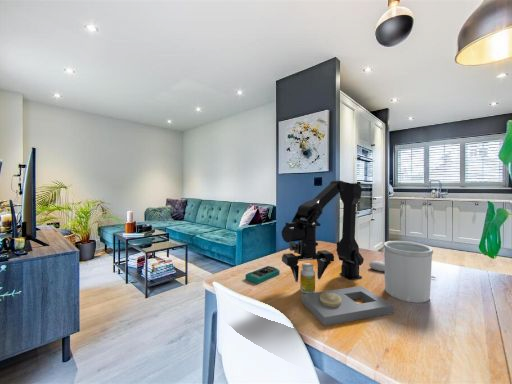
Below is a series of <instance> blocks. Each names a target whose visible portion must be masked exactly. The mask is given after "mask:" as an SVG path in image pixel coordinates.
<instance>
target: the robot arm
mask: <svg viewBox="0 0 512 384" xmlns="http://www.w3.org/2000/svg"><path fill="white" fill-rule="evenodd" d="M362 191H363V189H362V186H361V185H360V183H357V182H347V181H343V180H332V181H330V182H329V184H328V185H327V186H326V187H325V188H324V189H322V191H321V192H319V193H318V194H317V195H316V196H314V197H313V199H311V200H310V199H309V200H307V201H305V202H303V203H301V204H300V205H299V206H298V207H297V210H296V212H295V214H294V216H293V218H292V220H291V222H285V226H283V228H282V230H281V237H282V240H283V241H284V242H285V243H287V244H288V245H289V251H291V252H294V253H291V252H290V253H283V254H282V256H281V262H282V263H284V264H285V265H286V266H287V267H289V268H290V270H291V272H292V275H293V278H294V281H295V282H296V283H298V282H299V273H300V272H299V271H300V269H299V268H300V266H299V265H298V264H299V262H302V261H303V262H304V261H313V260H316V263H317V276H316V277H317V279H318V280H321V278H322V276H323V275H324V273H325V271H326V270H327V268H328V267H329V265H330V264H332V263H333V262H334V261H335V255H334V254H333V253H332V252H330V251H328V250H326V249H324V250H323V249H321V250H317V247H318V246H319V242H317V227H320V226H321V223H320V222H319V221H318V219H319V218H320V217H321V215H322V214H323V210H324V208H325V207H326V206H327V205H328V204H329V203H330V202H331V201H332V200H333V199H334V198H335V197H336V196H337V195H339V199H340V201H341V202H342V205H343V206H342V207H343V208H342V209H343V210H342V230H341V231H342V232H341V233H342V234H341V239H340V240H339V241H337V242H336V249H335V251H336V254H337V256H338V260H339V261H341V262H342V263H341V267H340V269H341V272H340V273H339V275H341V276H342V277H344V278H345V279H348V280H349V281H350V280H357V279H362V277H363V276H361V275H360V266H362V265H363V263H364V261H365V259H364V257H363V256H362V254H361V253H360V249H359V246H360V245H358V243H357V240H356V216H357V214H356V212H357V205H358V203H359V201H360V200H361V197H362ZM296 242H298V243H296ZM296 254H298V255H296Z"/></svg>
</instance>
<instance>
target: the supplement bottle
mask: <svg viewBox="0 0 512 384" xmlns="http://www.w3.org/2000/svg"><path fill="white" fill-rule="evenodd" d="M301 268H302V269H301V270H300V272H299V273H300V277H299V278H300V279H299V280H300V283H299V284H300V285H299V287H300V288H299V290H300V291H301V292H302V293H303V294H309V293H316V292H315V291H316V271H315V270H314V265H313V263H309V262H305V263H302V265H301Z"/></svg>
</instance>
